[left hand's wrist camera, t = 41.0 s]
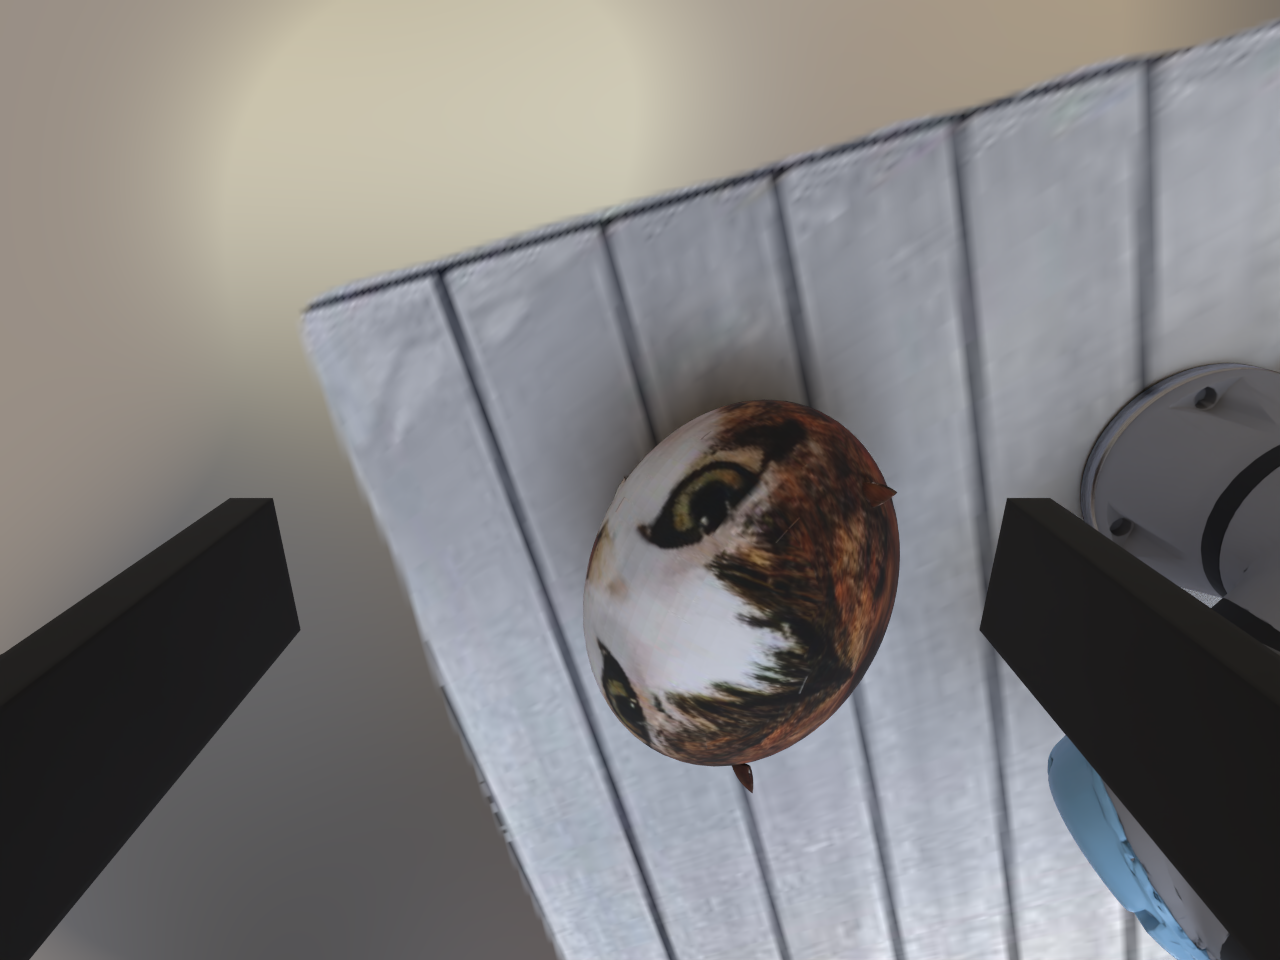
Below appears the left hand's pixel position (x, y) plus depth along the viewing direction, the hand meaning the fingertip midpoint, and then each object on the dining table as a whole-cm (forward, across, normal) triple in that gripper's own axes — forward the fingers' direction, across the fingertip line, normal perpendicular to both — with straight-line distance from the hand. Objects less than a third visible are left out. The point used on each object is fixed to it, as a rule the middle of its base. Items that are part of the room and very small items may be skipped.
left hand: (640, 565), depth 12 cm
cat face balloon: (+33, +6, -14) cm, 36 cm away
